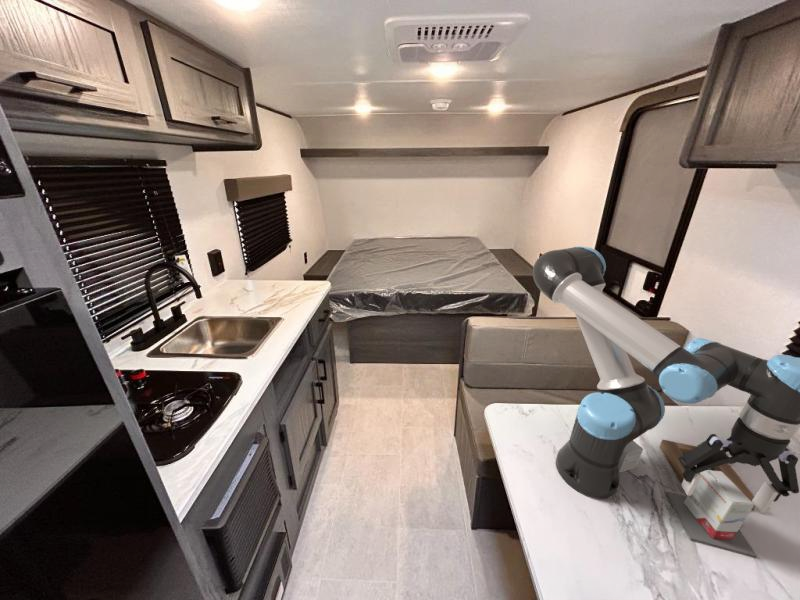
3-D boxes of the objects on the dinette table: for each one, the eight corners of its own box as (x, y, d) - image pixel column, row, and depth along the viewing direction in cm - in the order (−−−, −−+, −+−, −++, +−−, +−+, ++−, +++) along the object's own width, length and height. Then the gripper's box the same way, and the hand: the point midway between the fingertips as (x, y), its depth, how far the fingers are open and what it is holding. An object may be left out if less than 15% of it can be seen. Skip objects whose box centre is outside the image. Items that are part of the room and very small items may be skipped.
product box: (618, 473, 88) (626, 453, 85) (600, 455, 93) (607, 436, 90) (635, 468, 89) (644, 449, 87) (617, 451, 95) (624, 432, 92)
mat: (690, 540, 72) (691, 538, 72) (665, 492, 83) (666, 490, 82) (755, 557, 69) (757, 556, 69) (721, 506, 80) (722, 504, 79)
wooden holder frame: (686, 494, 82) (690, 486, 81) (659, 446, 97) (662, 439, 95) (753, 510, 79) (758, 502, 78) (714, 458, 93) (719, 451, 92)
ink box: (733, 540, 72) (757, 505, 67) (710, 538, 72) (733, 503, 67) (702, 503, 79) (722, 470, 75) (682, 502, 80) (700, 468, 75)
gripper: (700, 426, 64) (664, 497, 73) (864, 458, 58) (804, 532, 66) (682, 402, 71) (651, 470, 79) (826, 428, 65) (776, 499, 73)
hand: (720, 498), depth 73 cm, fingers open, 13 cm apart
